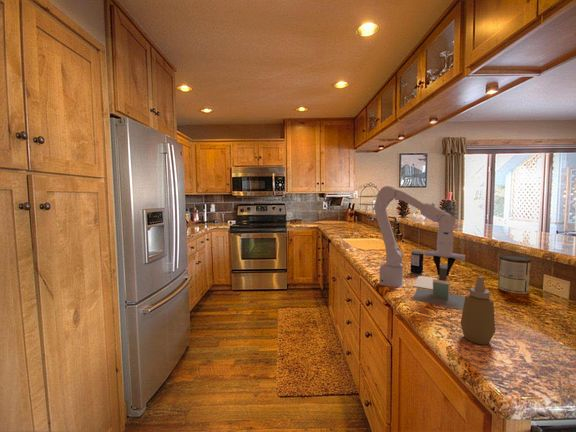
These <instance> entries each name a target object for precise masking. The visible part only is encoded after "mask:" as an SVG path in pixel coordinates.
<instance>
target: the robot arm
mask: <svg viewBox="0 0 576 432" xmlns="http://www.w3.org/2000/svg"><path fill="white" fill-rule="evenodd" d="M376 195H377V196H376V199H375V202H374V206H373V209H374V213H375V215H376V216H375V217H376V220H377V223H378V227H379V230H380V233H381V237H382V239H383V243H384V247H385V254H386V256H385V262H386V263H381V264H380V266H379V267H380V268H379V277H378V278H379V280H378V282H379V283H378V285H380V286H385V287H394V288H400V289H401V288H402V287H403V286H404V285H405V282H403V277H404V276H403V275H404V264H403V263H402V260H403V258H404V254H403V251H402V250H400V248H399V245H398V244H397V241H396V238H395V233H394V231H393V228H392V226H391V222H390V218H389V216H388V212H387V207H388V206H389V204H390V203H391V202H392V201H393V200H394V201H402V202H405V203H406V204H408V205H410V206H412V207H414V208H416V209H417V210H419V214H420V215H422V216H423V217H425V218H426V219H429V220H430V221H432V222H433V223H437V224H438V230H437V237H436V238H437V239H436V250H435V251H433V250H424V257H432V260H433V262H434V264H435V267H436V271H437V275H438V276H439V271H440V266H441V258H444V259H447V264H448V265H447V277H449V275H450V270H451V269H452V267H453V265H454V264H455V262H456V260H459V261H460V260H461V261H463V262H464V261H466V254H460V253H455V252H454V253H453V250H454V249H453V248H454V235H455V233H454V229H455V225H456V219H455V218H454V216H453V215H452V214H450V213H449V212H447V211H446V209H441V208H439V207H438V206H436V204H435V203H433V202H425V203H424V202H422V201H421V200H418V198H416V197H413V196H412V195H411V194H409V193H407V192H405V191H403V190H401V189H398V188H395V187H393V186H389V185H387V186H386V185H385V186H383V187H381V188H380V190H379V191H378V192H377V194H376Z"/></svg>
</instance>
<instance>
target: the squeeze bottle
mask: <svg viewBox="0 0 576 432" xmlns="http://www.w3.org/2000/svg"><path fill="white" fill-rule="evenodd" d="M485 285H486V284H485V280H484V277H482V276H477V279H476V282H475V285H474V286H473V287H470V288H469V294H467V295H466V296H465V302H464V307H463V310H462V314H461V319H460V326H461V330H462V333H463V337H464V338H465V339H466V340H467V341H469V342H470V343H474V344H478V345H488V344H490V342H491V340H492V338H493V337H494V335H495V333H496V323H495V321H496V320H495V306H494V304H495V303H494V301H493V299H491V298H490V297H491V292H490V290H488V289H486V286H485Z"/></svg>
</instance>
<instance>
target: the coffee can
mask: <svg viewBox="0 0 576 432" xmlns="http://www.w3.org/2000/svg"><path fill="white" fill-rule="evenodd" d="M531 262H532V259H531V258H530V257H527V256H523V255H518V254H517V255H514V254H500V255H499V269H498V270H499V271H498V282H497V283H498V285H497V288H498V289H500V290H501V291H504V292H506V293H507V292H508V293H512V294H517V295H518V294H519V295H523V294H525V295H526V294H529V290H530V289H529V288H530V275H531V274H530V273H531Z"/></svg>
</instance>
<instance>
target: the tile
mask: <svg viewBox="0 0 576 432" xmlns="http://www.w3.org/2000/svg"><path fill="white" fill-rule="evenodd" d="M450 283H451V282H450V281H448V280H447V281H442V280H439V279H438V280H436V279H433V290H432V291H433V296H436V297H442V298H447V299H449V294H450Z"/></svg>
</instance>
